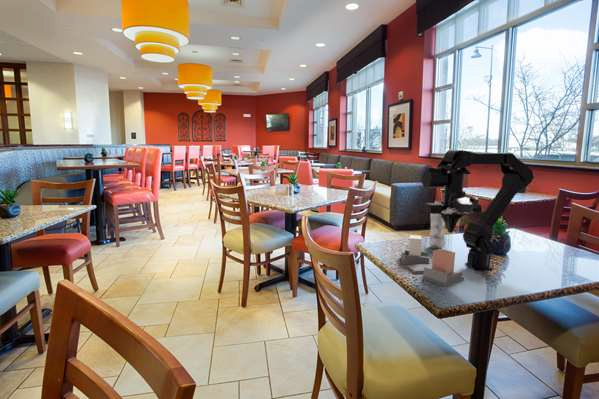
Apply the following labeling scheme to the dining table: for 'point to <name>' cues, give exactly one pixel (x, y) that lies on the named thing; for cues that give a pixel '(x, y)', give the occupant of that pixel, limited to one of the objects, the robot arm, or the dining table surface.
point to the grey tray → (429, 269)
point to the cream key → (415, 245)
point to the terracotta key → (443, 260)
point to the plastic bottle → (437, 230)
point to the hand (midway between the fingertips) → (450, 232)
